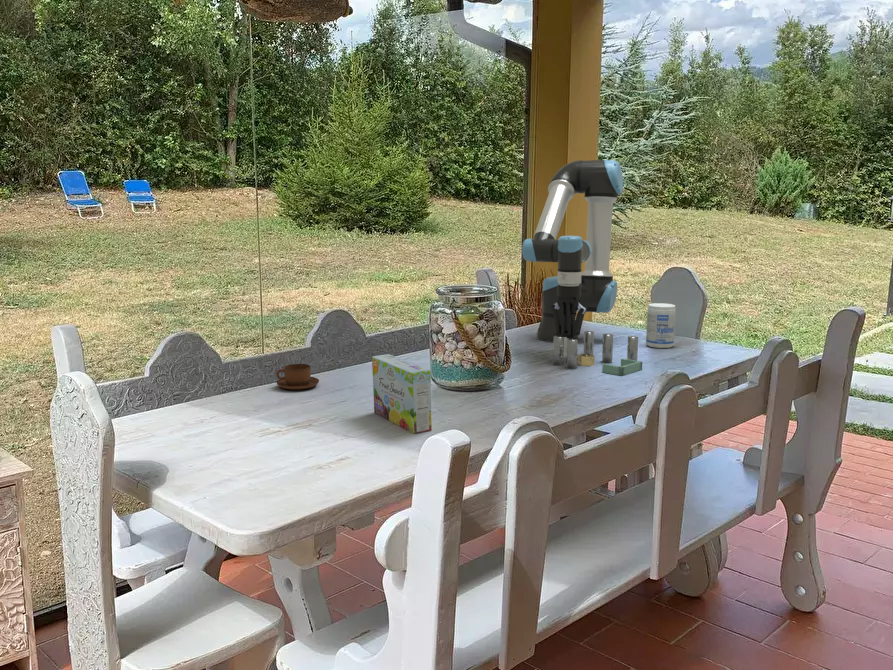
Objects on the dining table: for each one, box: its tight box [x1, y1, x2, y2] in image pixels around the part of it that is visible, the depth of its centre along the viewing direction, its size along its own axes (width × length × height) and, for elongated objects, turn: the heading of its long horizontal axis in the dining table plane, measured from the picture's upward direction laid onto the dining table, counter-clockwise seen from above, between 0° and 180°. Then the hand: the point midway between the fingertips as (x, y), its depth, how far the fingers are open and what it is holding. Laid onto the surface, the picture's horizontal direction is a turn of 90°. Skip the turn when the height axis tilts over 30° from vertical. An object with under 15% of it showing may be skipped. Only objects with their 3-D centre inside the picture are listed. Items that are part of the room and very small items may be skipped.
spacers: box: [552, 330, 639, 370], centre depth 269 cm, size 21×20×9 cm
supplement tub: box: [645, 302, 677, 349], centre depth 298 cm, size 10×10×15 cm
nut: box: [577, 353, 595, 367], centre depth 271 cm, size 5×4×3 cm
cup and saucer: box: [275, 363, 320, 391], centre depth 243 cm, size 12×12×6 cm
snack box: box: [371, 353, 433, 435], centre depth 208 cm, size 21×6×15 cm, turn 32°
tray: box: [601, 358, 643, 377], centre depth 261 cm, size 7×11×2 cm, turn 136°
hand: (567, 356), depth 276 cm, fingers closed
